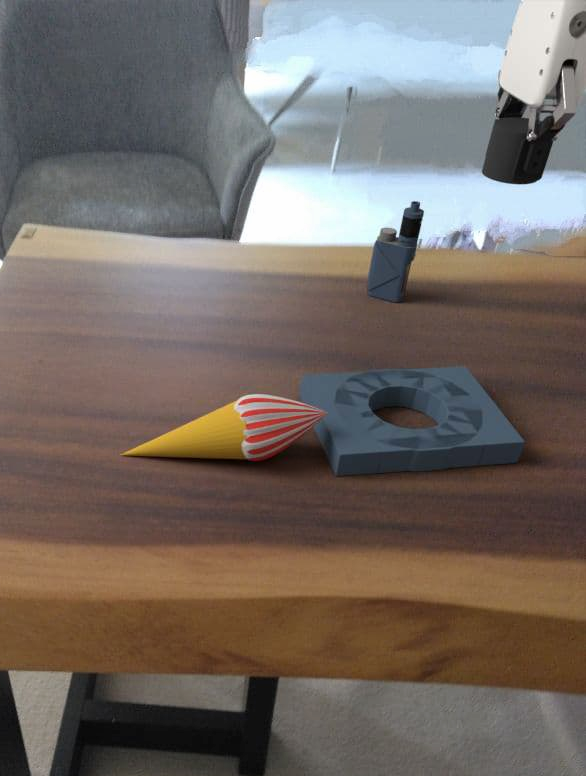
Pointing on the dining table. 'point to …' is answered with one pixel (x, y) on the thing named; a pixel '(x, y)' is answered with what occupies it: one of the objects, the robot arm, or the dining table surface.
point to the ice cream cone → (238, 430)
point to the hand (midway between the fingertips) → (512, 167)
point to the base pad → (402, 445)
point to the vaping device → (394, 256)
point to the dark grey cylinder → (505, 149)
